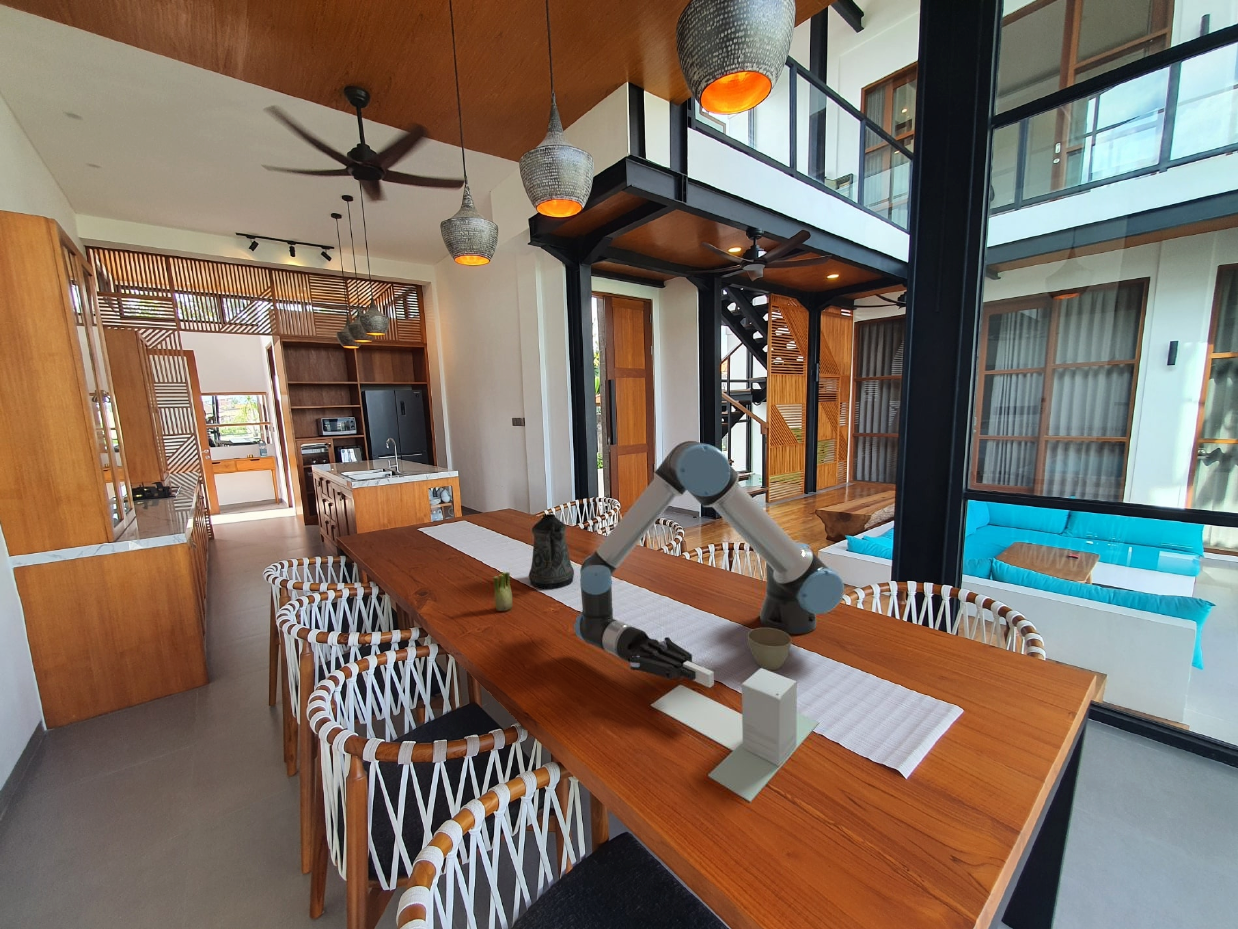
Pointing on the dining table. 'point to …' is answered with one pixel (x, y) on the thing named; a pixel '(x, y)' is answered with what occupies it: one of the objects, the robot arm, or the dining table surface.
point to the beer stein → (550, 555)
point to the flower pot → (769, 647)
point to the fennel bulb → (503, 592)
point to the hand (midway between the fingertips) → (711, 679)
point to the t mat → (727, 739)
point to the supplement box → (769, 715)
